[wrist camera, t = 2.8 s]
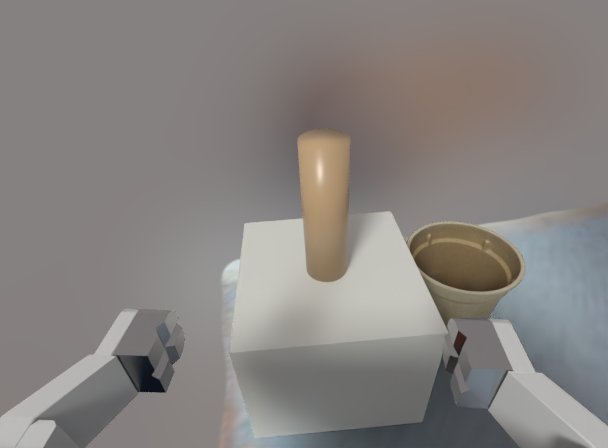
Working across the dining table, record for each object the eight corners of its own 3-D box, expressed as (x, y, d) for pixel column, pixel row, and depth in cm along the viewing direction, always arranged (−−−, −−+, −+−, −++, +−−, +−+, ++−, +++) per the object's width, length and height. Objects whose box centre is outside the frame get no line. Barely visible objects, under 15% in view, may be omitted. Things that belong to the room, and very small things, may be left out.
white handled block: (381, 296, 38) (403, 96, 26) (422, 422, 27) (492, 186, 15) (260, 307, 38) (223, 110, 25) (255, 438, 27) (186, 211, 15)
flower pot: (377, 319, 36) (384, 255, 31) (427, 271, 41) (440, 209, 36) (468, 381, 30) (495, 314, 25) (513, 317, 35) (543, 250, 30)
